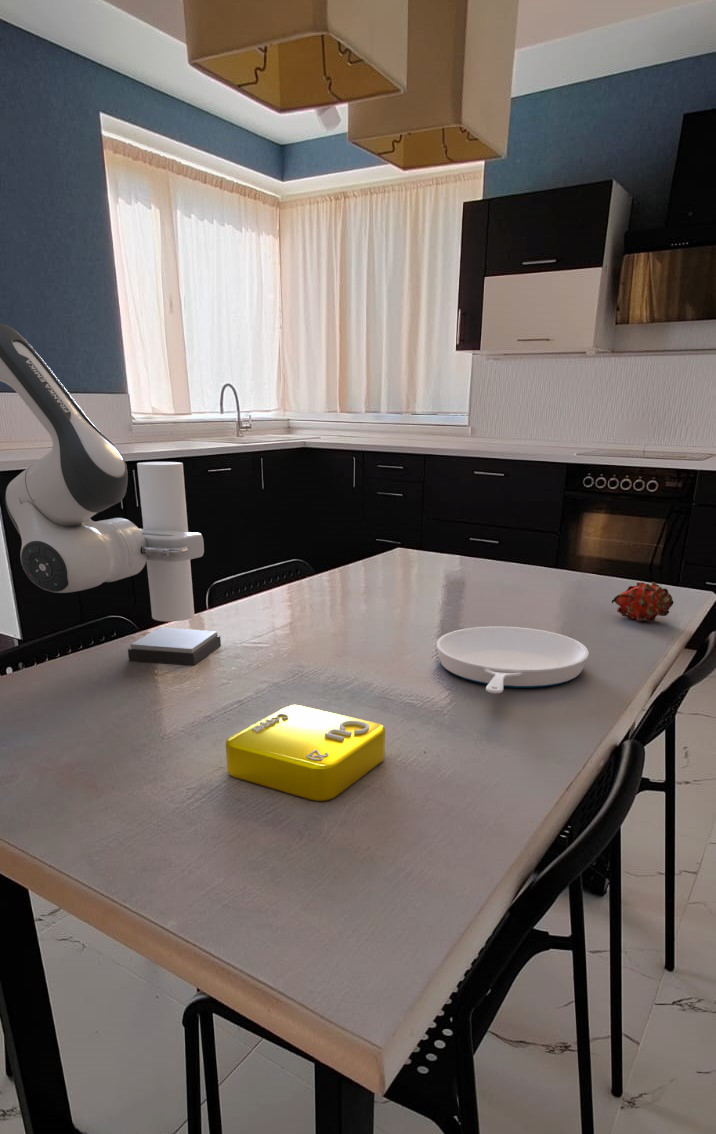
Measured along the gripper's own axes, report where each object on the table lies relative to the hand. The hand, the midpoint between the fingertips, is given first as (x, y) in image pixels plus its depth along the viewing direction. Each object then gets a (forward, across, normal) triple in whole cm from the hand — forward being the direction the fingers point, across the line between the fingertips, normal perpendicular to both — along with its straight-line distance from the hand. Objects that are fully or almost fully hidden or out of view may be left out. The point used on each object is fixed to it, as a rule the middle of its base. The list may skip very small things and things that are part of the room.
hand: (169, 536), depth 128 cm
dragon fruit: (+56, -75, +20) cm, 96 cm away
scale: (-1, 0, +20) cm, 20 cm away
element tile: (-34, -41, +20) cm, 57 cm away
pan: (+8, -57, +20) cm, 61 cm away
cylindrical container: (-1, 0, +14) cm, 14 cm away
